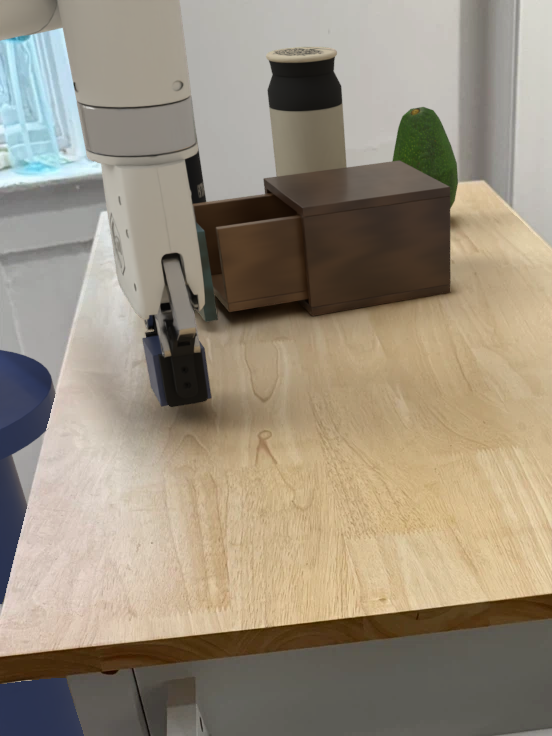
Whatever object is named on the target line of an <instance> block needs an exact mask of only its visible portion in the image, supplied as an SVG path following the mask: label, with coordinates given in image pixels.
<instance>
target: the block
mask: <svg viewBox="0 0 552 736" xmlns="http://www.w3.org/2000/svg"><path fill="white" fill-rule="evenodd" d="M141 341H142V346H143V352H144V356H145V363H146V369H147V374H148V380H149V385H150V386H149V387H150V389H151V390H152V392H153V394H154V396H155V399H157V401H158V403H159V405H160V407H169V406H168V404H167V402H166V399H165V393H164V387H163V381H162V375H161V369H160V363H159V357H158V354H162V351H161V346H160V341H159V336H152V337H146V336H145V337H142V338H141ZM199 342H200V349H201V350H202V357H203V364H204V371H205V379H206V386H207V393H208V399H207V400H209V399H212V390H211V384H210V376H209V370H208V362H207V355H206V348H205V346H204V345H203V343H202V342H201V341H200V340H199Z"/></svg>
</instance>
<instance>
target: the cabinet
mask: <svg viewBox="0 0 552 736" xmlns="http://www.w3.org/2000/svg"><path fill="white" fill-rule="evenodd" d="M262 180H263V187H264V194H269V193H273V194H274V195H275V196H277V197H278V198H279V199H281V200H282V201H283V202H285V203H286V204H287V205H289V206H290V207H291V208H292V209H294V210H295V211H296V212H298V213H299V214H300V215H301V223H302V234H303V245H304V256H305V267H306V277H307V288H308V299H305V300H299V301H297V303H298V304H300V306H302V308H303V309H305V310H306V312H308V313H309V314H310V316H312V317H314V316H320V315H325V314H331V313H337V312H344V311H349V310H355V309H356V310H357V309H361V308H366V307H373V306H378V305H385V304H389V303H390V304H391V303H396V302H403V301H408V300H413V299H419V298H426V297H431V296H437V295H443V294H449V293H451V209H450V187H449V186H447V185H445V184H443V183H442V182H440V181H438V180H436V179H434V178H432V177H430V176H428V175H426V174H424V173H422V172H421V171H419V170H417V169H415V168H413V167H411V166H409V165H407V164H405V163H403V162H401V161H393V160H392V161H385V162H377V163H370V164H363V165H362V164H361V165H354V166H347V167H346V168H339V169H331V170H323V171H316V172H308V173H300V174H293V175H285V176H278V177H277V176H271V177H263V179H262Z"/></svg>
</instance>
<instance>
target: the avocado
mask: <svg viewBox="0 0 552 736" xmlns="http://www.w3.org/2000/svg"><path fill="white" fill-rule="evenodd" d="M393 149H394V150H393V154H392V155H393V156H392V161H401V162H403V163H405V164H407V165H409V166H411V167H413V168H415V169H417V170H419V171H421V172H422V173H424V174H426V175H428V176H430V177H432V178H434V179H436V180H438V181H440V182H442V183H443V184H445V185H447V186H449V187H450V210H451V209H452V207H453V205H454V203H455V201H456V197H457V190H458V185H459V175H458V174H459V173H458V162H457V160H456V157H455V153H454V150H453V147H452V144H451V142H450V139H449V137H448V134H447V132H446V130H445V127H444V125H443V123H442V121H441V119H440V117H439V116H438V114H437V113H436V111H435V110H434V109H431V108H429V107H425V106H419V107H414V108H410V109H409V110H408V111H406V113H404V114H403V115H402V116H401V119H400V122H399V124H398V128H397V133H396V139H395V145H394V148H393Z"/></svg>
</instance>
